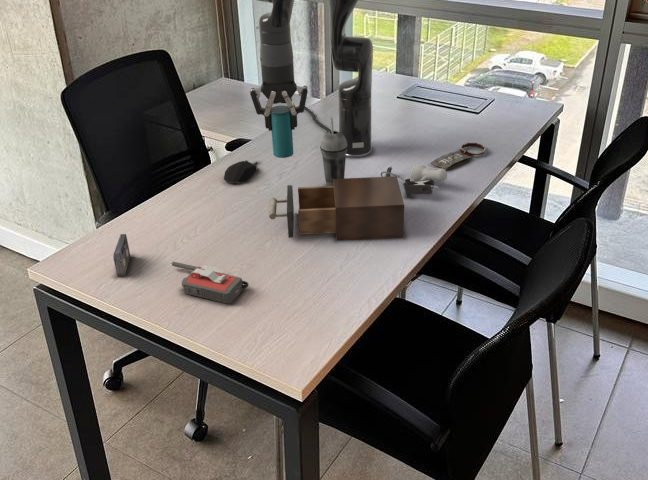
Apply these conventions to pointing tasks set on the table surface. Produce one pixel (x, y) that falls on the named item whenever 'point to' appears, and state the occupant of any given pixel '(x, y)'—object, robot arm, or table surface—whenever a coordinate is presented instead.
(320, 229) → the drawer
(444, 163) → the keychain
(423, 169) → the clip-on lamp
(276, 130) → the tin
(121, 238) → the mini dv tape
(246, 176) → the gaming mouse
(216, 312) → the table surface
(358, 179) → the cabinet
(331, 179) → the beverage cup
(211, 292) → the walkie-talkie
